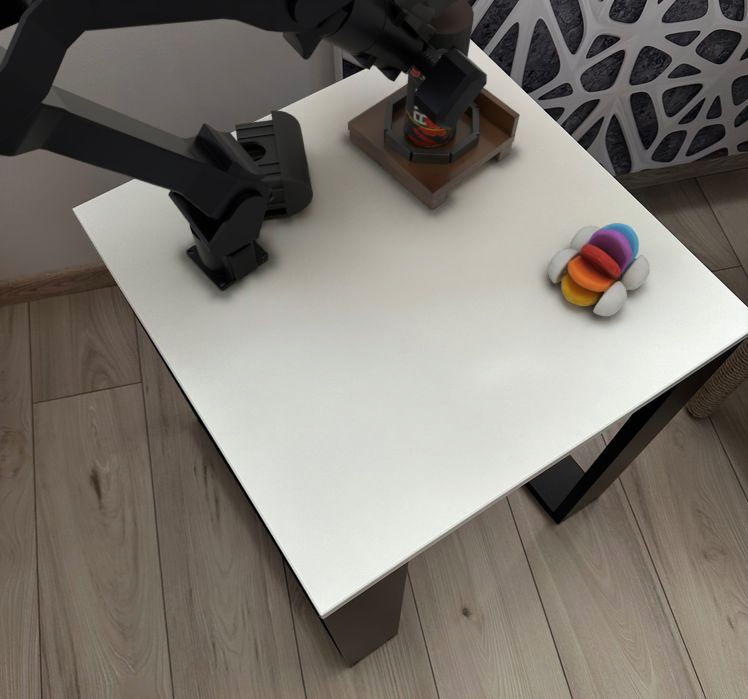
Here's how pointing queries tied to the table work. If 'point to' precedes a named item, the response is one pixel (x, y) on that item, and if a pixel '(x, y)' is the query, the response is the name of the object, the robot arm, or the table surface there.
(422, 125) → the deodorant
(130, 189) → the table surface
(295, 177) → the end cap
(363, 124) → the shelf
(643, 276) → the rainbow disc toy
